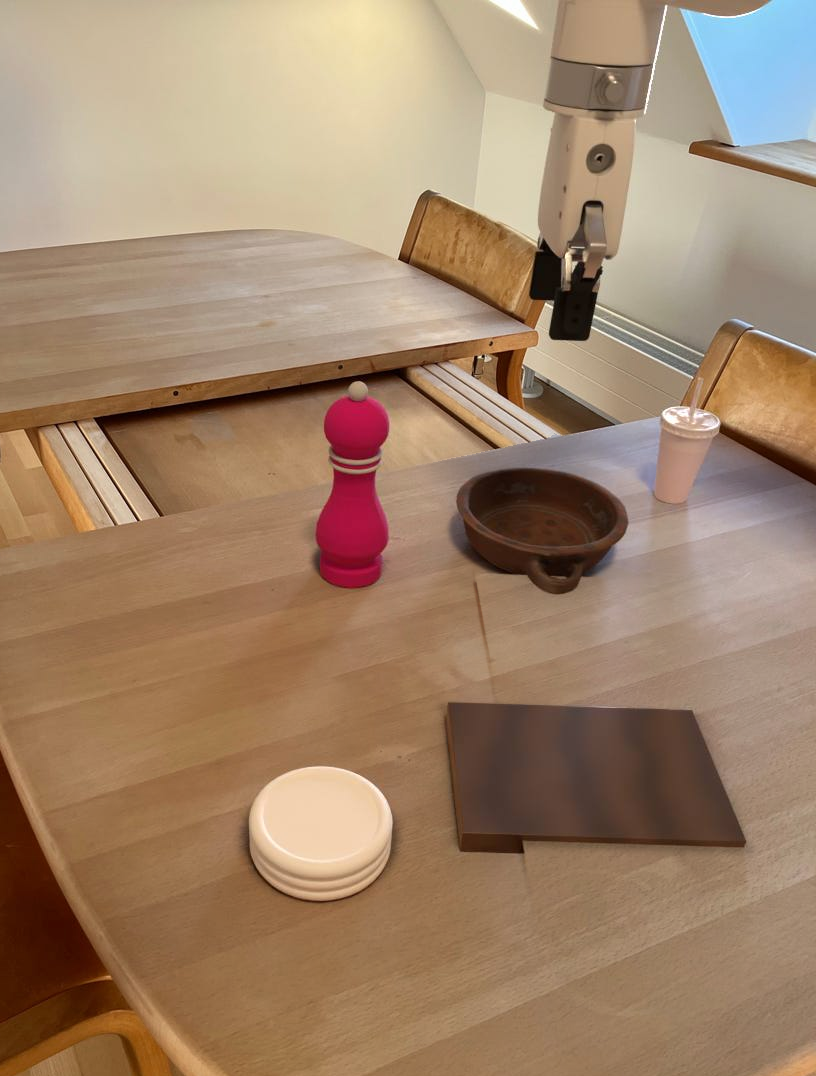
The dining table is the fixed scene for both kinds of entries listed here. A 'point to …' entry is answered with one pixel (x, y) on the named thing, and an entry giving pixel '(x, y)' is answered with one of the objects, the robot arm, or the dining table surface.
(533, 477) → the dish
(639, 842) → the cutting board
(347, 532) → the pepper mill
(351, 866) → the coaster
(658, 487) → the smoothie
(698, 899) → the dining table surface
